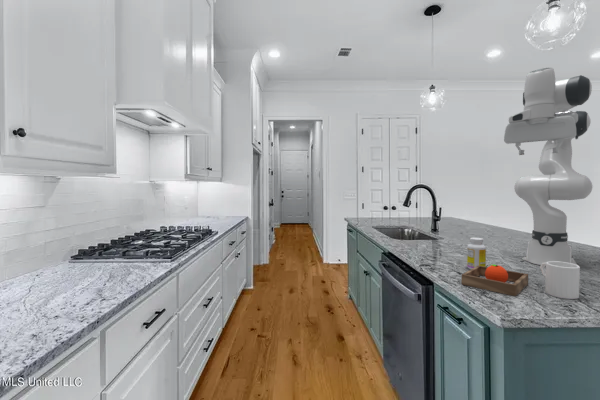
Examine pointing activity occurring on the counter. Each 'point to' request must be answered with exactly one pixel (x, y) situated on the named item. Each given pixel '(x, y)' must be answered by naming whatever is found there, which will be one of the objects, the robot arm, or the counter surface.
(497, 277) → the clementine
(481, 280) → the wooden frame
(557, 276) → the mug
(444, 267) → the counter surface
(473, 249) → the supplement bottle
